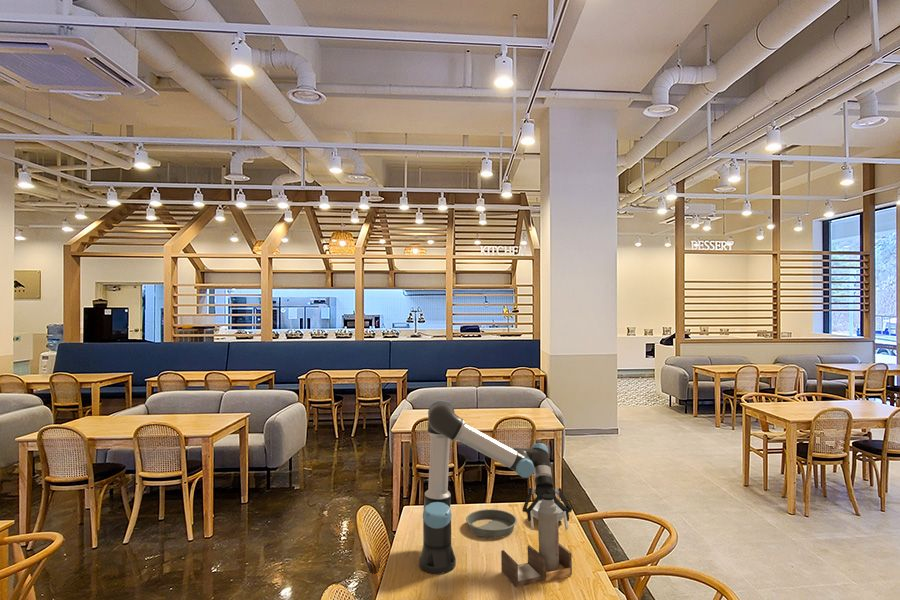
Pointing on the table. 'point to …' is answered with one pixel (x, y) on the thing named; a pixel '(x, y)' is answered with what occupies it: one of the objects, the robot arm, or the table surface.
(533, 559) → the rack
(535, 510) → the cereal bowl
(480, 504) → the table surface
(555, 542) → the thermos bottle
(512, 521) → the cake pan
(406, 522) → the table surface
